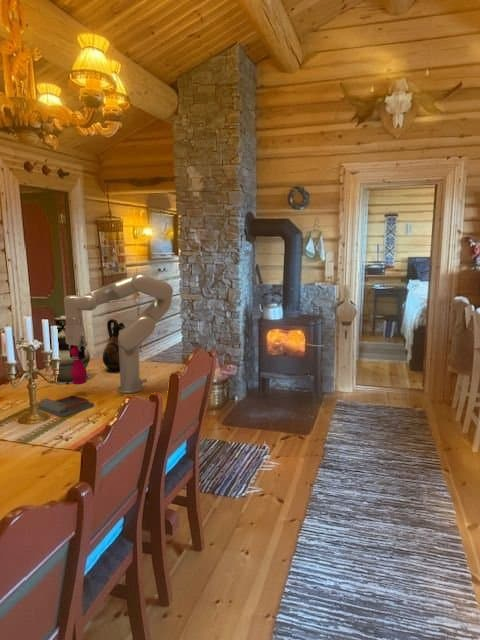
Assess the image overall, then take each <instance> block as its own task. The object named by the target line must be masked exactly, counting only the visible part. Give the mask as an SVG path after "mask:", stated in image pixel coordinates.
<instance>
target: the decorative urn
mask: <svg viewBox="0 0 480 640" xmlns="http://www.w3.org/2000/svg"><path fill="white" fill-rule="evenodd" d="M53 321H55V323H54V324H53V326H57V329H58V342H59V356H60V358H61V359H62V360H61V362H60V365H59V374H57V376H58V377H57V382H56V384H60V385H61V384H62V385H65V384H70V385H71V384H73V378H72V376H71V372H72V369H73V365H74V362H73V359H72V358H70V351H69V347H68V345H67V344H66V341H65V326H66V316H65V314H64V315H63V314H62V315H60V316H59V317H54V318H53ZM81 347H82V346H81ZM90 358H91V353H90V352H89V350H88V349H87V348H85V358H84V359H82V362H83V365H84V367H85V369H86V370H87V367H88V365H89V363H90V361H91V360H90ZM85 378H86V380H87V379H91V378H92V376H91V375H88V374H87V375H86V377H85ZM48 380H49V381H50V382H52V381H53V377H50V378H48Z"/></svg>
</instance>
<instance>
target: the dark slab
mask: <svg viewBox="0 0 480 640" xmlns="http://www.w3.org/2000/svg"><path fill="white" fill-rule="evenodd" d="M89 400H90V399H88V398H85V397H82V396H78V395H74V394H71V395H68V396H65V397H62V398H58V399H50V398H47V397H45V398H42V399H40V404H39V405H37V409H38V408H39V409H38V410H40V411H44V412H46V413H49V414H51V415H54V416H56V417H57V416H58V417H59V418H60V417H61V418H64V417H68V416H71V415H74V414H76V413H80V412H82V411H85V410H88V409H90V408H94V407H95V403H93V402H90V401H89Z"/></svg>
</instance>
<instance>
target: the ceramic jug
mask: <svg viewBox="0 0 480 640" xmlns="http://www.w3.org/2000/svg"><path fill="white" fill-rule="evenodd" d="M112 324H113V326H112ZM106 327H107V332H108V336H109V339H108V342H107V344H106V345H105V347H104V349H103V352H102V363H103V364H104V366H105V367H106V368H107V371H108V372H110V373H120V362H119V342H118V336H119V333H120V331H121V330H122V329H124V328H126V326H125V324H124V323H123V322H120V323H118V321H117V320H116V319H114V318H111V319H108V321H107V325H106Z"/></svg>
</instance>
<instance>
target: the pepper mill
mask: <svg viewBox="0 0 480 640" xmlns="http://www.w3.org/2000/svg"><path fill="white" fill-rule="evenodd" d="M80 348H81V346H80ZM78 351H79V349H78V346H74V347H72V348H71V351H70V352H71V354H72V355H73V356H72V359H73V362H74V365H73V369H72V372H71V376H72V378H73V383H72V384H73V385H77V386H78V385H83V384H86V383H87V379H86V378H85V377H86V375H87V376H88V372H87V368H86V369H85V367H84V365H83V362H82V359H79V356H78Z"/></svg>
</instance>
